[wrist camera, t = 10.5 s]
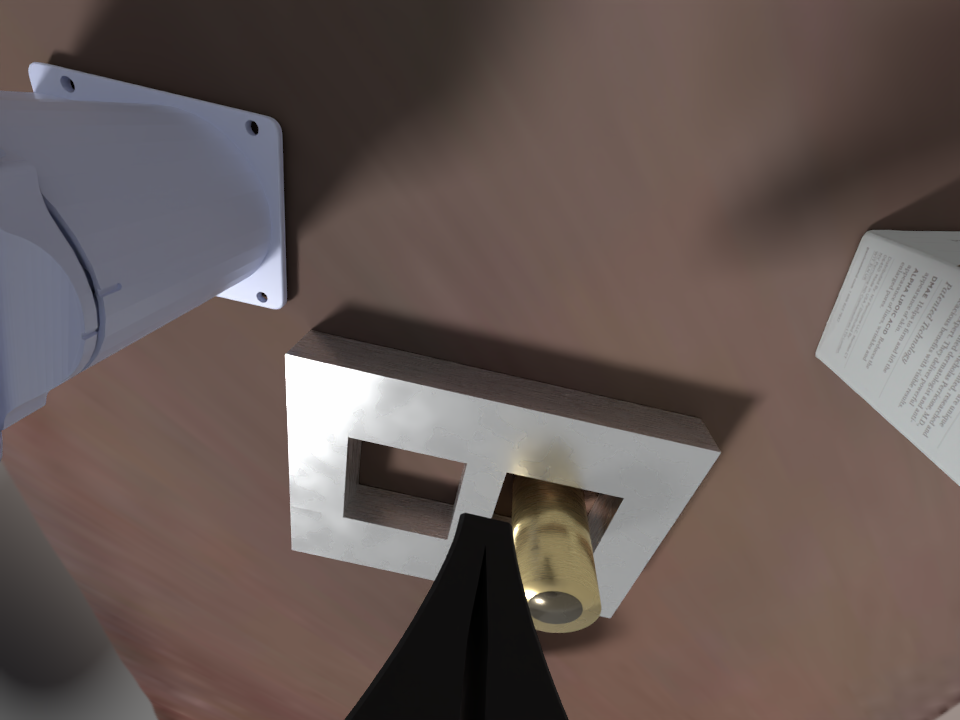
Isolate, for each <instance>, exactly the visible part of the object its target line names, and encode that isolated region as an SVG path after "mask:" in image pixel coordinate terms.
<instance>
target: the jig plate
mask: <svg viewBox="0 0 960 720" xmlns="http://www.w3.org/2000/svg"><path fill="white" fill-rule="evenodd" d="M285 357H286V388H287V418H288V448H289V479H290V509H291V539H292V550H295V551H299V552H304V553H309V554H313V555H318V556H323V557H327V558H332V559H337V560H341V561H346V562H351V563H355V564H360V565H365V566H369V567H374V568H379V569H383V570H388V571H393V572H397V573H402V574H406V575H411V576H416V577H420V578H425V579H430V580H434V581H435V579H436V577H437V575H438V573H439V571H440V569H441V567H442V564H443V562H444V560H445V558H446V556H447V554H448V551H449V549H450V546H451V544H452V541H453V539H454V536H455V532H456V528H457V525H458V521H459V517H460V514H463V513H470V514H474V515H478V516H482V517H487V518H491V519H495V520H500V521H504V522H508V523H510V524H511V526H512V518H511V517H506V516H502V515H497V514H493V512H494V509H495V506H496V503H497V500H498V497H499V494H500V491H501V488H502V485H503V482H504V479H505V476H506V473H507V472H508V473H512V474H517V475H521V476H526V477H530V478H535V479H539V480H544V481H548V482H553V483H557V484H562V485H566V486H571V487H575V488H580V489H584V490H589V491H594V492H598V493H599V495H598V497H597V499H596V501H595V503H594V505H593V507H592V509H591V511H590V513H589V515H588V517H587V518H588V525H589V531H590V537H591V544H592V550H593V556H594V563H595V569H596V575H597V582H598V588H599V594H600V600H601V607H602V608H601V614H600V616H602V617H607V618H611V617H612V615H613V614H614V612H615V611H616V609H617V608H618V606H619V605H620V603H621V602H622V600H623V599H624V597H625V596H626V594H627V593H628V591H629V590H630V588H631V587H632V585H633V584H634V582H635V581H636V579H637V578H638V576H639V575H640V573H641V572H642V570H643V569H644V567H645V566H646V564H647V563H648V561H649V560H650V558H651V557H652V555H653V554H654V552H655V551H656V549H657V548H658V546H659V545H660V543H661V542H662V540H663V539H664V537H665V536H666V534H667V533H668V531H669V530H670V528H671V527H672V525H673V524H674V522H675V521H676V519H677V518H678V516H679V515H680V513H681V512H682V510H683V509H684V507H685V506H686V504H687V503H688V501H689V500H690V498H691V497H692V495H693V494H694V492H695V491H696V489H697V488H698V486H699V485H700V483H701V482H702V480H703V479H704V477H705V476H706V474H707V473H708V471H709V470H710V468H711V467H712V465H713V464H714V462H715V461H716V459H717V458H718V456H719V455H720V453H721V451H720V450H719V448H718V446H717V445H716V443H715V441H714V440H713V438H712V436H711V435H710V433H709V431H708V429H707V428H706V426H705V424H704V423H703V421H702V419H701V418H696V417H692V416H687V415H683V414H678V413H674V412H670V411H665V410H661V409H656V408H652V407H648V406H643V405H639V404H634V403H630V402H626V401H621V400H617V399H612V398H608V397H604V396H599V395H595V394H590V393H586V392H582V391H577V390H573V389H568V388H564V387H560V386H555V385H551V384H546V383H542V382H537V381H533V380H529V379H524V378H520V377H515V376H511V375H507V374H502V373H498V372H493V371H489V370H485V369H480V368H476V367H471V366H467V365H463V364H458V363H454V362H449V361H445V360H441V359H436V358H432V357H427V356H423V355H418V354H414V353H410V352H405V351H401V350H396V349H392V348H388V347H383V346H379V345H374V344H370V343H366V342H361V341H357V340H352V339H348V338H344V337H339V336H335V335H330V334H326V333H322V332H317V331H313V330H310V331H309V332H308V333H307V334H306V335H305V336H304V337H303V338H302V339H301V340H300V341H299V342H297V343H296V344H295V345H294V346H293V347H292V348H291V349H290V350H289V351H288V352H287V353H286V354H285ZM362 440H363V441H368V442H372V443H377V444H381V445H386V446H390V447H395V448H399V449H404V450H409V451H413V452H418V453H422V454H427V455H431V456H436V457H440V458H445V459H449V460H454V461H458V462H463V463H464V467H463V471H462V475H461V479H460V482H459V486H458V490H457V494H456V498H455V502H454V505H452V504H447V503H442V502H438V501H433V500H429V499H424V498H420V497H415V496H411V495H406V494H401V493H397V492H392V491H388V490H383V489H379V488H374V487H369V486H365V485H360V484H358V481H359V469H360V457H361V445H362Z"/></svg>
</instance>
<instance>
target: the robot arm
mask: <svg viewBox="0 0 960 720" xmlns="http://www.w3.org/2000/svg"><path fill="white" fill-rule="evenodd" d="M28 71H29V77H30V81H31V84H32V88H33V91H34V93H30V92H13V91H0V461H1V458H2V446H3V441H2V432H1V430H4V429H6V428H7V427H9V426H11V425H12V424H14V423H16V422H17V421H19V420H21V419H22V418H24V417H26V416H28V415H29V414H31V413H33V412H34V411H36V410H38V409H39V408H41V407H43V406H44V405H45V404H46V397H47V394H48V392H49V391H50V390H51V389H53V388H55V387H57V386H58V385H60V384H62V383H64V382H65V381H67V380H69V379H71V378H72V377H74V376H75V375H77V374H79V373H81V372H82V371H84V370H86V369H88V368H89V367H91V366H93V365H95V364H96V363H98V362H100V361H102V360H104V359H105V358H107V357H109V356H111V355H112V354H114V353H116V352H118V351H119V350H121V349H123V348H125V347H127V346H128V345H130V344H132V343H134V342H135V341H137V340H139V339H141V338H142V337H144V336H146V335H148V334H149V333H151V332H153V331H155V330H157V329H158V328H160V327H162V326H164V325H165V324H167V323H169V322H171V321H172V320H174V319H176V318H178V317H179V316H181V315H183V314H185V313H187V312H188V311H190V310H192V309H194V308H195V307H197V306H199V305H201V304H202V303H204V302H206V301H208V300H210V299H211V298H213V297H215V296H218V297H223V298H227V299H231V300H236V301H240V302H245V303H249V304H253V305H258V306H262V307H267V308H271V309H280V308H282V307H283V306H284V305H285V304H286V303H287V278H286V243H285V207H284V172H283V137H282V129H281V127H280V125H279V123H278V122H277V121H276V120H275V119H274V118H272V117H270V116H266V115H262V114H257V113H253V112H249V111H245V110H241V109H236V108H232V107H228V106H224V105H220V104H215V103H211V102H207V101H203V100H199V99H194V98H190V97H186V96H182V95H178V94H173V93H169V92H165V91H161V90H157V89H152V88H148V87H144V86H140V85H136V84H131V83H127V82H123V81H119V80H114V79H110V78H106V77H102V76H98V75H93V74H89V73H85V72H81V71H77V70H72V69H68V68H64V67H60V66H56V65H51V64H47V63H40V62H33V63H31V64H30V66H29V69H28ZM70 79H71V80H72V81H73V83H74V85H75V90H74V89H73V88H72V86H71V84H70ZM252 121H254V122H255V123H256V124H257V125H258V128H259V131H258V134H257V135H256V134H254V132H253V131H252V129H251V122H252ZM261 292H263V293H265V294H266V295H267V298H268V300H267V299H265V298H263V296H262V294H261ZM345 720H568V717H567V715H566V712H565V710H564V708H563V705H562V703H561V700H560V698H559V695H558V692H557V690H556V687H555V685H554V682H553V679H552V677H551V674H550V671H549V669H548V666H547V663H546V660H545V657H544V654H543V651H542V648H541V645H540V642H539V639H538V636H537V633H536V630H535V626H534V623H533V620H532V616H531V613H530V609H529V606H528V602H527V598H526V594H525V591H524V587H523V583H522V579H521V574H520V570H519V565H518V561H517V556H516V550H515V545H514V538H513V530H512V526H511V524H510V523H508V522H504V521H500V520H495V519H491V518H487V517H482V516H478V515H474V514H470V513H463V514H460V517H459V521H458V525H457V528H456V532H455V536H454V539H453V541H452V544H451V546H450V549H449V551H448V554H447V556H446V558H445V560H444V562H443V564H442V567H441V569H440V571H439V573H438V575H437V577H436V579H435V581H434V583H433V585H432V587H431V589H430V590H429V592H428V594H427V596H426V597H425V599H424V601H423V603H422V605H421V606H420V608H419V610H418V612H417V613H416V615H415V617H414V619H413V620H412V622H411V624H410V625H409V627H408V628H407V630H406V632H405V633H404V635H403V637H402V638H401V640H400V641H399V643H398V644H397V646H396V647H395V649H394V650H393V652H392V654H391V655H390V657H389V658H388V660H387V661H386V663H385V664H384V665H383V667H382V668H381V670H380V671H379V673H378V674H377V676H376V677H375V678H374V680H373V681H372V683H371V684H370V686H369V687H368V689H367V690H366V691H365V693H364V694H363V695H362V697H361V698H360V700H359V701H358V702H357V704H356V705H355V706H354V708H353V709H352V710H351V712H350V713H349V714H348V716H347V717H346V718H345Z"/></svg>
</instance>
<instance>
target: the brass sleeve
mask: <svg viewBox="0 0 960 720" xmlns="http://www.w3.org/2000/svg"><path fill="white" fill-rule="evenodd" d="M512 530H513V538H514V545H515V550H516V556H517V561H518V565H519V570H520V574H521V579H522V583H523V587H524V591H525V594H526V598H527V602H528V606H529V609H530V613H531V616H532V620H533V623H534V626H535V629H536V630H539V631H544V632H551V633H566V632H573V631H577V630H581V629H583V628H586V627H588V626H590V625H591V624H593V623H594V622H595V621H596V620H597V619H598V618H599V616H600V614H601V608H602V607H601V600H600V594H599V588H598V582H597V575H596V569H595V563H594V556H593V550H592V544H591V537H590V531H589V525H588V518H587V512H586V506H585V499H584V493H583V489H580V488H575V487H571V486H566V485H562V484H557V483H553V482H548V481H544V480H539V479H535V478H530V477H526V476H521V475H516V476H515V478H514V481H513V497H512Z"/></svg>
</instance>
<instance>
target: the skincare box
mask: <svg viewBox="0 0 960 720" xmlns="http://www.w3.org/2000/svg"><path fill="white" fill-rule="evenodd" d="M815 354H816V357H817V358H819V359H820V360H821V361H822V362H823V363H824V364H826V365H827V366H828V367H829V368H830V369H831V370H832V371H833V372H834V373H835V374H837V375H838V376H839V377H840V378H841V379H842V380H843V381H844V382H845V383H846V384H848V385H849V386H850V387H851V388H852V389H853V390H854V391H855V392H856V393H858V394H859V395H860V396H861V397H862V398H863V399H864V400H865V401H866V402H868V403H869V404H870V405H871V406H872V407H873V408H874V409H875V410H876V411H877V412H879V413H880V414H881V415H882V416H883V417H884V418H885V419H886V420H887V421H888V422H889V423H891V424H892V425H893V426H894V427H895V428H896V429H897V430H898V431H899V432H901V433H902V434H903V435H904V436H905V437H906V438H907V439H908V440H909V441H910V442H912V443H913V444H914V445H915V446H916V447H917V448H918V449H919V450H920V451H921V452H923V453H924V454H925V455H926V456H927V457H928V458H929V459H930V460H931V461H933V462H934V463H935V464H936V465H937V466H938V467H939V468H940V469H941V470H943V471H944V472H945V473H946V474H947V475H948V476H949V477H950V478H951V479H952V480H953V481H955V482H956V483H957V484H958V485H959V486H960V231H898V230H870V231H867V232H866V233H865V234H864V236H863V237H862V239H861V241H860V244H859V246H858V249H857V251H856V253H855V256H854V258H853V261H852V263H851V266H850V268H849V271H848V273H847V276H846V278H845V281H844V283H843V286H842V288H841V290H840V293H839V295H838V298H837V300H836V303H835V305H834V308H833V310H832V313H831V315H830V317H829V320H828V322H827V325H826V327H825V330H824V332H823V335H822V337H821V340H820V342H819V345H818V347H817V350H816V353H815Z"/></svg>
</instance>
